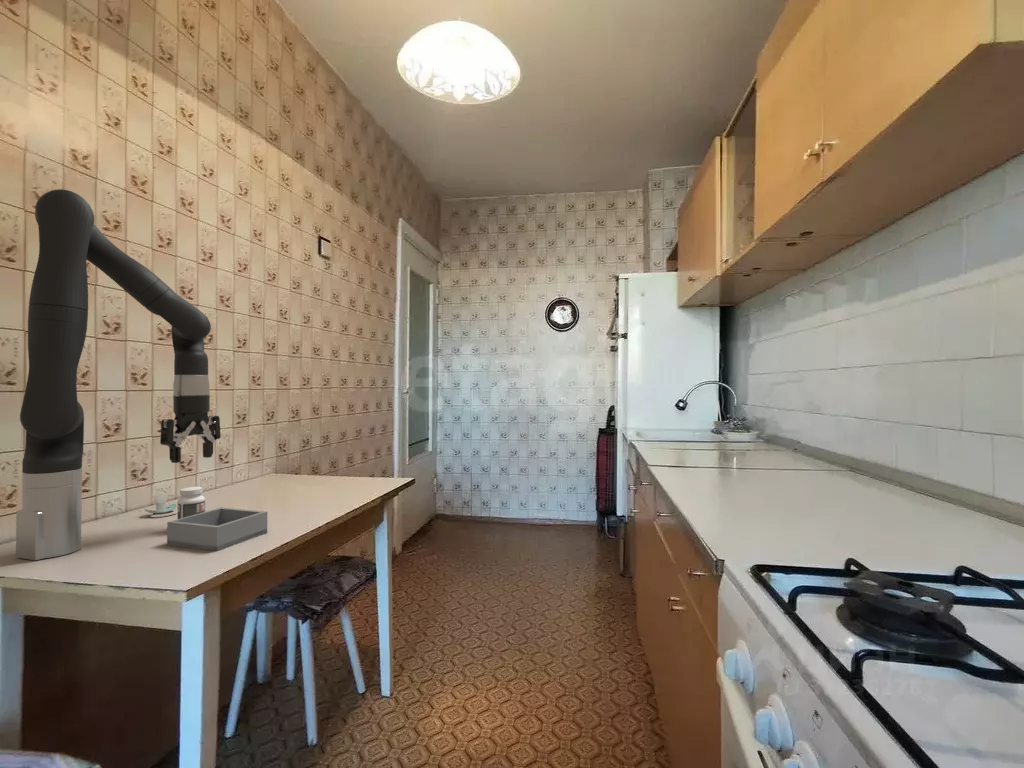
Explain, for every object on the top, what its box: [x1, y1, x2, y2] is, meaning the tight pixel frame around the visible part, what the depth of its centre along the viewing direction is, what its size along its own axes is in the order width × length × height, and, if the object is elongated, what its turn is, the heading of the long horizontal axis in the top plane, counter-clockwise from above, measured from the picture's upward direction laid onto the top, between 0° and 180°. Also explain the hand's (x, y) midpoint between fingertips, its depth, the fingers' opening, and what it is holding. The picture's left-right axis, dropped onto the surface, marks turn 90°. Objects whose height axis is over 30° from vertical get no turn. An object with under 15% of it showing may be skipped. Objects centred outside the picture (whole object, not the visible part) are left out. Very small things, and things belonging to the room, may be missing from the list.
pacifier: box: [144, 491, 178, 519], centre depth 135 cm, size 7×6×6 cm
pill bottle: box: [177, 486, 206, 519], centre depth 122 cm, size 6×6×10 cm
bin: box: [166, 507, 268, 552], centre depth 115 cm, size 14×14×5 cm
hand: (192, 459), depth 122 cm, fingers open, 8 cm apart
